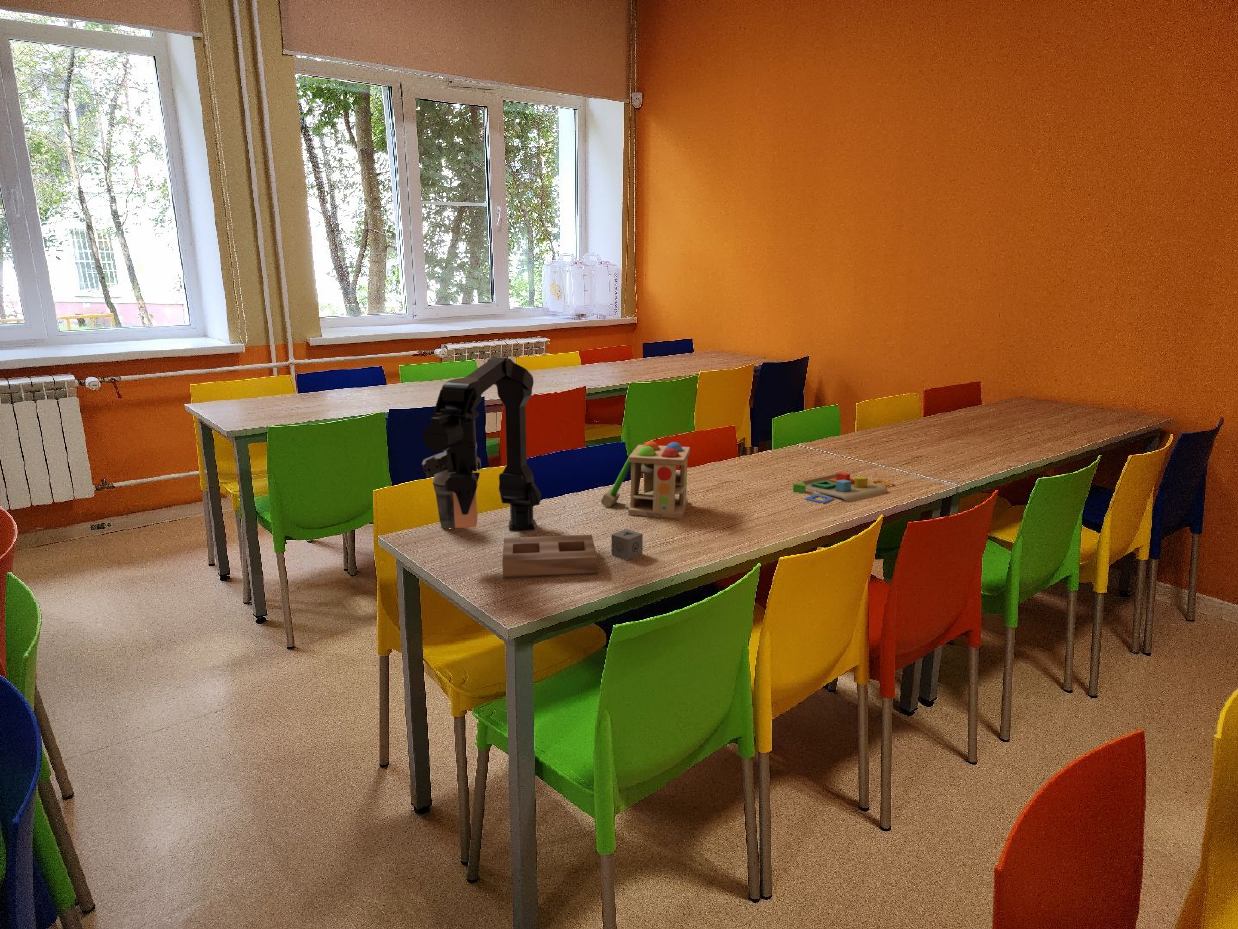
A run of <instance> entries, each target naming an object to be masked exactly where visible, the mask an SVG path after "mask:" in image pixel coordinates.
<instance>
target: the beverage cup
mask: <svg viewBox="0 0 1238 929" xmlns="http://www.w3.org/2000/svg"><path fill="white" fill-rule="evenodd" d="M445 451H447V449H445V450H443V452H445ZM453 473H455V472H453ZM450 474H451V473H447V470H445V471H442V472H440V473H437V474H434V476H433V480H432V485H433V490H434V492H435V500H436V505H437V512H438V517H439V522H440V524H439V525H440V528H441V529H443V528H445V529H444V530H450V529H449V528H455V517H454V499H453V491H446V486H445V481H446V478H447V477H448V476H449V475H450ZM455 529H456V528H455Z"/></svg>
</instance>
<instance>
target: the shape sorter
mask: <svg viewBox="0 0 1238 929" xmlns="http://www.w3.org/2000/svg"><path fill="white" fill-rule="evenodd" d="M876 481H877V483H874V482H876ZM880 482H884V483H882V484H881V483H880ZM879 483H880V484H879ZM885 483H886V484H885ZM890 485H894V486H895V483H893V482H891V481H887V480H886V479H883V478H880V479H870V480H868V477H867V476H863V475H861V476H860V475H858V476H855V477H854V478H851V473H847V472H841V471H840V472H836V473H834V474H833V473H832V474H829V475H823V476H818V477H814V478H810V479H804V480H801V481H800V482H797V483H793V484H792V493H796V492H799V493H798V494H803V493H805V494H806V490H807V491H808V490H809V491H811V492H814V491H816V492H815V493H814V494H812V495H809V496H807V497H805V498H804V500H805V501H808V502H813V503H816V504H821V503H823V504H822V505H824V504H825V505H826V504H827V503H830V502H832V501H834V500H835V499H834V498H839V499H842V500H844V502H846V503H852V502H856V501H861V500H865V499H869V498H873V497H877V496H882V495H885V493H886V494H888V489H887V488H888V487H884V486H890ZM890 487H891V486H890ZM817 492H819V493H818V494H817ZM821 493H822V494H821ZM881 494H882V495H881ZM815 497H816V498H819V497H822V498H821V499H823V498H825V499H823V500H821V499H820V500H819V499H816V498H815ZM868 497H869V498H868ZM813 498H814V499H813Z"/></svg>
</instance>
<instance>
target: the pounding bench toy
mask: <svg viewBox="0 0 1238 929" xmlns="http://www.w3.org/2000/svg"><path fill="white" fill-rule="evenodd" d="M690 449H691V448H690V447H689V446H682V445H681V444H680V443H678V442H676V441H672V442H670V443H668V444H667V445H658V443H656V442H655V441H652V440H649V441H646V442H645V443H644V444H638V445H637V446H636V447H635V448H634V449H633V451H632V452H631V453H630V455H628V457H627V460H626V461H625V462H624V465H623V467H622V469H621V470H620V472H619V474H618V476H617V479H616V480H615V482H614V484H613V485H612V487H611V489H609V490H608V491H607V492H605V493H604V494H603V496H602V498H601V499H600V502H601V504H602V506H604V507H606V508H611V507H612V506H613V505H615V504H616V503H617V501H618V500H619V498H620V496H621V495H620V493H619V490H620V488H621V487H622V484H623V482H624V481H625V479H626V477H627V475H628V473H629V471H631V472H630V504H629V507H628V512H627V513H628V515H629V516H637V515H643V516H642V517H651V516H656V517H655V518H664V517H668V518H667V519H679V518H681V519H683V517H684V514H685V512H684V511H686V510H687V509H686V508H687V505H688V504H689V503H688V500H689V498H688V497H687V490H688V489H687V488H688V457H689V455H690V452H691V450H690ZM642 464H643V465H642ZM677 466H679V468H680V470H679V471H676V470H677ZM630 469H631V470H630ZM642 474H643V493H639V492H640V485H641V478H642ZM676 495H678V496H676Z"/></svg>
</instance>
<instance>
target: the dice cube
mask: <svg viewBox="0 0 1238 929" xmlns="http://www.w3.org/2000/svg"><path fill="white" fill-rule="evenodd" d="M643 535H644V534H643V533H642V532H638V531H634V530H631V529H627V528H624V529H623V530H620V531H617V532H615V533H611V556H613V555H614V556H615V557H617V558H620V559H623V558H624V559H623V560H626V559H627V561H630V560H632V559H631V558H633V559H634V558H637V557H640V556H642V555H643V547H644V546H643V543H644V542H643V541H644V540H643ZM641 554H642V555H641ZM629 559H630V560H629Z"/></svg>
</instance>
